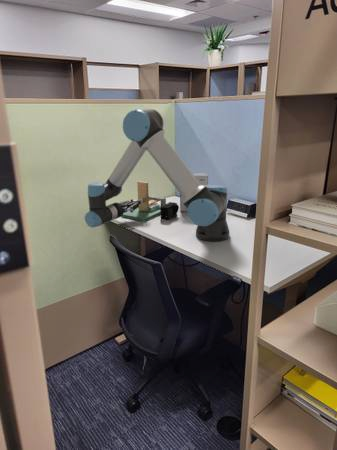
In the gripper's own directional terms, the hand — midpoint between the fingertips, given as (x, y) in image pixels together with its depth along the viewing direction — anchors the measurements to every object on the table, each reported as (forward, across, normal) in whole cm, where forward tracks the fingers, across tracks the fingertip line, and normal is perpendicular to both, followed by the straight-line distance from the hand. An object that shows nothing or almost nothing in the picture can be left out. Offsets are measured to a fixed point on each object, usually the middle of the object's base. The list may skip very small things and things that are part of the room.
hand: (141, 200), depth 186 cm
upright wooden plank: (+8, 0, -6) cm, 10 cm away
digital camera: (+3, +16, -8) cm, 18 cm away
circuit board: (+4, 0, -8) cm, 9 cm away
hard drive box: (+22, +20, -8) cm, 31 cm away
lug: (+14, 0, -6) cm, 15 cm away
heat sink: (+6, 0, -6) cm, 9 cm away
